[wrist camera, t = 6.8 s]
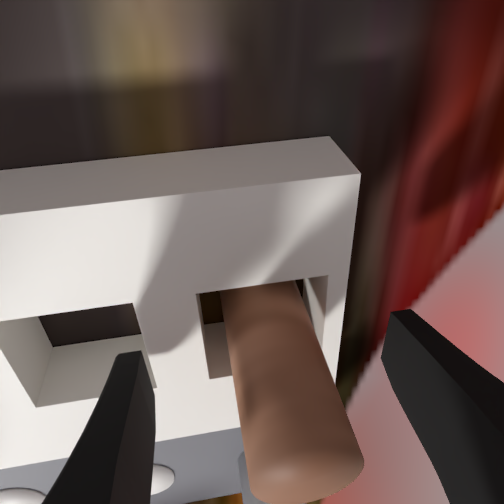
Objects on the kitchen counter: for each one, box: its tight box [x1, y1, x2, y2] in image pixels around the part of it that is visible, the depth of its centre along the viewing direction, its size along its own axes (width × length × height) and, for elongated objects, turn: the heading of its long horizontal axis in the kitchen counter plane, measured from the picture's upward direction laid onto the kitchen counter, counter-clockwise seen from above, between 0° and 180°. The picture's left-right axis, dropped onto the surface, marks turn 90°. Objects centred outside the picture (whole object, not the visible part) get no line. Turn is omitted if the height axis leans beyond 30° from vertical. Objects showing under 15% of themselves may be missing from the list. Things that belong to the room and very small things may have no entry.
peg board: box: [0, 136, 361, 469], centre depth 13 cm, size 16×10×2 cm, turn 93°
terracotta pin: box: [219, 280, 364, 504], centre depth 12 cm, size 3×3×7 cm
